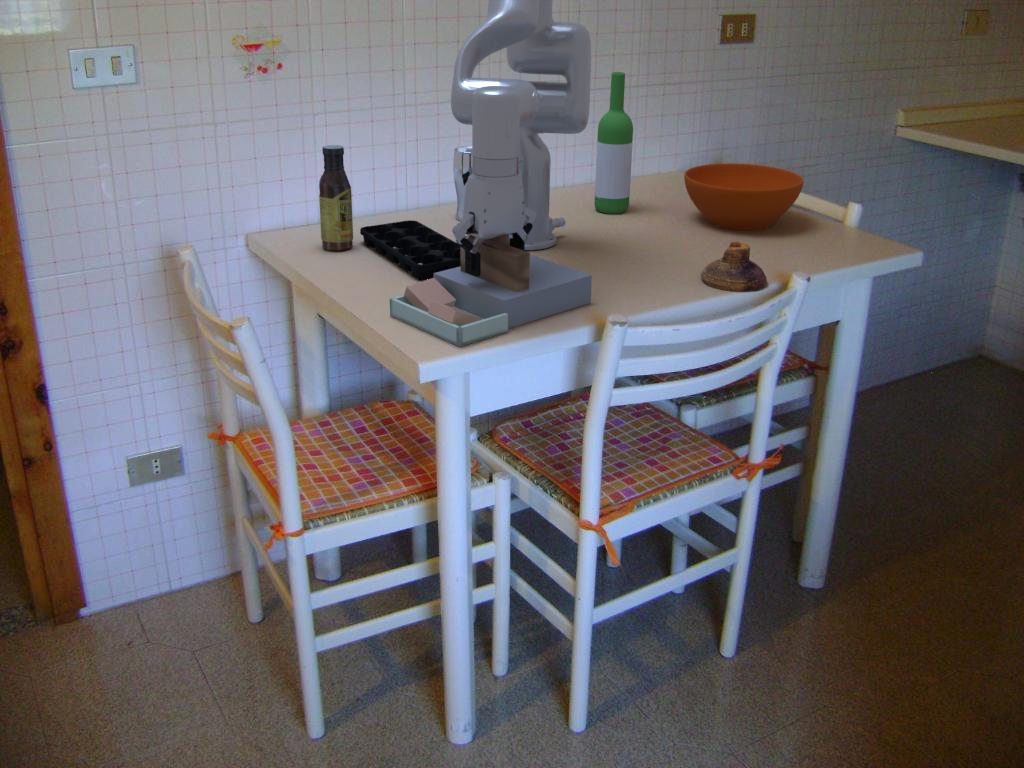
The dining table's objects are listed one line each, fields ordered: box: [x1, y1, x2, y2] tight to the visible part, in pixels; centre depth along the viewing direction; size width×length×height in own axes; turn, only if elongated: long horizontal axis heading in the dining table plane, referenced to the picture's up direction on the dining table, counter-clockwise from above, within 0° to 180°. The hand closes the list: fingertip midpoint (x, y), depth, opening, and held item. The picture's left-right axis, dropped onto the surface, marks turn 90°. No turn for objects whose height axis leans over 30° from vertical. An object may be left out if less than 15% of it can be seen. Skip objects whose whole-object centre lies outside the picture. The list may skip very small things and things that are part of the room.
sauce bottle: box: [318, 144, 354, 252], centre depth 207 cm, size 7×6×20 cm
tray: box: [389, 294, 509, 348], centre depth 172 cm, size 10×18×3 cm, turn 42°
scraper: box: [460, 234, 531, 292], centre depth 176 cm, size 3×14×8 cm, turn 42°
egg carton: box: [359, 219, 461, 281], centre depth 205 cm, size 18×30×4 cm, turn 42°
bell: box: [700, 241, 767, 293], centre depth 193 cm, size 12×12×7 cm
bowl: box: [683, 162, 805, 231], centre depth 230 cm, size 25×25×10 cm
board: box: [434, 254, 593, 330], centre depth 182 cm, size 20×18×5 cm
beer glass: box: [452, 145, 473, 222], centre depth 229 cm, size 7×7×15 cm
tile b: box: [428, 301, 482, 326], centre depth 168 cm, size 6×6×2 cm
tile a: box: [403, 278, 456, 313], centre depth 176 cm, size 6×6×2 cm
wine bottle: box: [594, 71, 634, 215], centre depth 233 cm, size 8×8×30 cm
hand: (495, 268), depth 177 cm, fingers open, 9 cm apart
